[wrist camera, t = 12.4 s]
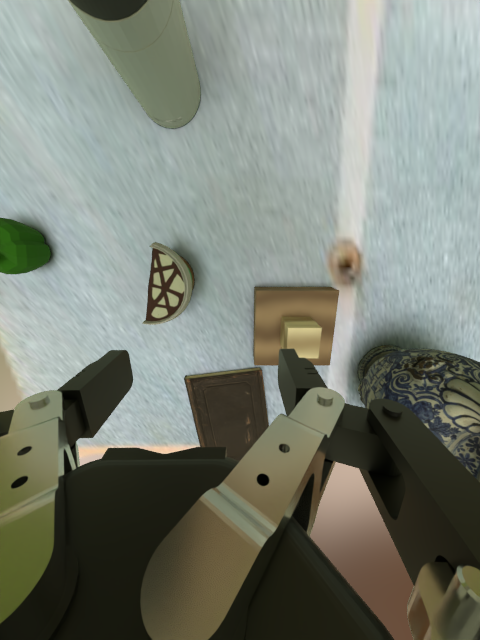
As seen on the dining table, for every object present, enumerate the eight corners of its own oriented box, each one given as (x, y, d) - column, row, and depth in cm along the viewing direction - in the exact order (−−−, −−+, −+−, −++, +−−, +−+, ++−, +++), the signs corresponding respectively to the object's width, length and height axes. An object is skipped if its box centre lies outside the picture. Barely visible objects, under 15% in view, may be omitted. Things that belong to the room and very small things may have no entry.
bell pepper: (1, 231, 40) (-76, 225, 30) (42, 215, 39) (-23, 204, 29) (28, 277, 42) (-35, 286, 32) (67, 264, 41) (15, 268, 32)
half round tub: (195, 316, 44) (182, 335, 34) (163, 309, 44) (141, 326, 34) (206, 251, 40) (195, 251, 31) (171, 243, 40) (149, 241, 31)
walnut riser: (254, 287, 42) (255, 290, 38) (330, 286, 42) (339, 290, 38) (253, 355, 46) (254, 365, 43) (322, 355, 46) (329, 365, 42)
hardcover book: (260, 364, 48) (261, 370, 45) (271, 450, 54) (272, 459, 52) (185, 374, 48) (183, 379, 46) (205, 457, 55) (203, 466, 53)
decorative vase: (324, 340, 45) (452, 472, 18) (418, 305, 43) (713, 395, 16) (351, 422, 51) (477, 611, 24) (435, 394, 49) (672, 566, 22)
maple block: (281, 316, 40) (288, 327, 34) (310, 316, 40) (321, 327, 34) (279, 343, 41) (286, 358, 35) (307, 343, 41) (318, 358, 35)
